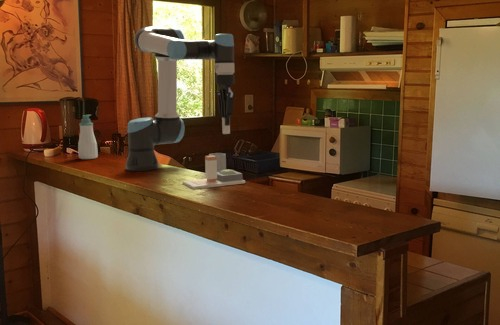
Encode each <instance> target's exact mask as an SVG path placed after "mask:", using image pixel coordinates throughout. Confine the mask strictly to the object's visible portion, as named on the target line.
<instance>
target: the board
mask: <svg viewBox="0 0 500 325" xmlns="http://www.w3.org/2000/svg"><path fill="white" fill-rule="evenodd" d="M243 178H244V177H243V173H241V172H239V171H236V170H234V174H227V175H223V174H221V172H217V179H216V181H215V182H208V181H207V178H202V179H195V180H194V179H193V180H186V181H185V180H184V181H182V184H183V185H184V186H186V187H188V188H190V189H192V190H198V189H207V188H216V187H224V186H232V185H233V186H234V185H242V184H246V180H244V179H243Z"/></svg>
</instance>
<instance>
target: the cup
mask: <svg viewBox="0 0 500 325" xmlns="http://www.w3.org/2000/svg"><path fill="white" fill-rule="evenodd" d="M212 155H213V156H216V157H217V172H221V171H222V170H227V157H226V155H227V154H226V153H222V152H215V153H209V154H208V156H212Z"/></svg>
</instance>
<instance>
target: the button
mask: <svg viewBox="0 0 500 325" xmlns="http://www.w3.org/2000/svg"><path fill="white" fill-rule="evenodd" d="M234 171H235V170H234V169H229V168H228V169H226V170H222V171H221V174H223V175H227V174H234Z"/></svg>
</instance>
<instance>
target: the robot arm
mask: <svg viewBox="0 0 500 325" xmlns="http://www.w3.org/2000/svg"><path fill="white" fill-rule="evenodd" d="M133 41H134V42H133V43H134V45H135V47H136V48H137V49H138V50H139V51H140V52H142V53H146V54H147V53H148V54H154V58H155V59H156V60H157V88H158V89H157V96H158V97H157V105H158V106H157V113H156V114H155V115H154V118H153V117H150V116H148V117H147V116H146V117H138V118H136V119H131V120H129V122H127V131H126V132H127V142H128V155H127V158H126V162H125V169H126V170H127V171H131V172H145V171H146V172H147V171H153V170H157V169H159V167H160V166H159V165H160V163H159V160H158V158H157V155H156V152H155V146H157V145H166V144H170V145H171V144H174V143H175V144H176V143H179V142H181V140H182V139H183V137H184V136H185V128H186V126H185V124H184V123H185V122H184V119H182V118H181V117H180V113H178V110H177V109H178V108H177V102H178V101H177V99H178V98H177V97H178V96H177V87H178V86H177V83H178V82H177V81H178V80H177V79H178V77H177V72H178V70H177V68H178V67H177V66H178V64H177V63H178V61H180V60H205V61H206V60H207V61H208V60H209V61H210V60H214V64H215V65H214V67H213V68H214V69H215V73H216V75H215V77H214V78H215V84H216V85H219V87H218V91H216V94H215V95H216V96H217V104H218V105H217V106H218V113H219V116H221V120H222V121H221V125H222V126H221V128H222V129H221V130H222V134H223V135H228V134H231V117H233V113H234V111H233V110H234V99H235V95H236V92H235V91H233V90H232V89H233V88H232V85H234V84H235V78H236V77H235V43H234V42H235V41H234V35H233V34H232V33H217V34H215V35H214V39H212V40H207V39H206V40H205V39H204V40H203V39H200V40H199V39H198V40H195V39H193V40H191V39H185V36H184V33H183V32H182V31H181V29H179V28H178V27H172V26H166V27H165V26H146V27H142V28H140V29H139V30H137V32H135V35H134V39H133Z"/></svg>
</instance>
